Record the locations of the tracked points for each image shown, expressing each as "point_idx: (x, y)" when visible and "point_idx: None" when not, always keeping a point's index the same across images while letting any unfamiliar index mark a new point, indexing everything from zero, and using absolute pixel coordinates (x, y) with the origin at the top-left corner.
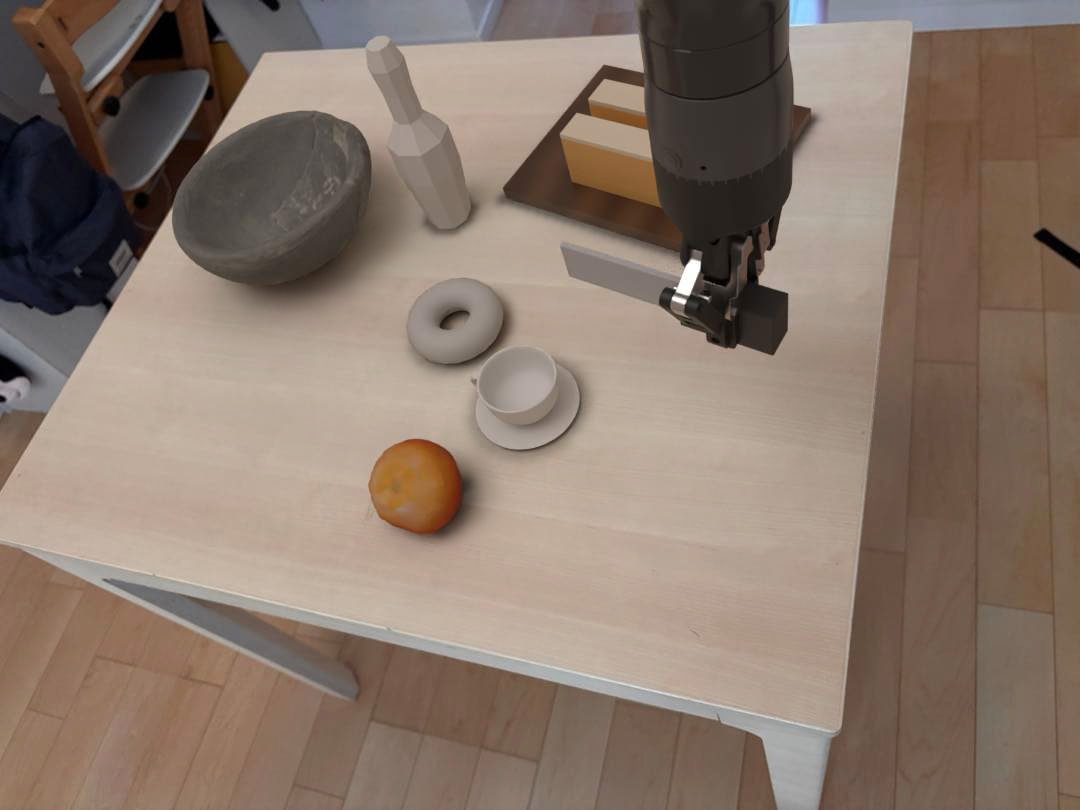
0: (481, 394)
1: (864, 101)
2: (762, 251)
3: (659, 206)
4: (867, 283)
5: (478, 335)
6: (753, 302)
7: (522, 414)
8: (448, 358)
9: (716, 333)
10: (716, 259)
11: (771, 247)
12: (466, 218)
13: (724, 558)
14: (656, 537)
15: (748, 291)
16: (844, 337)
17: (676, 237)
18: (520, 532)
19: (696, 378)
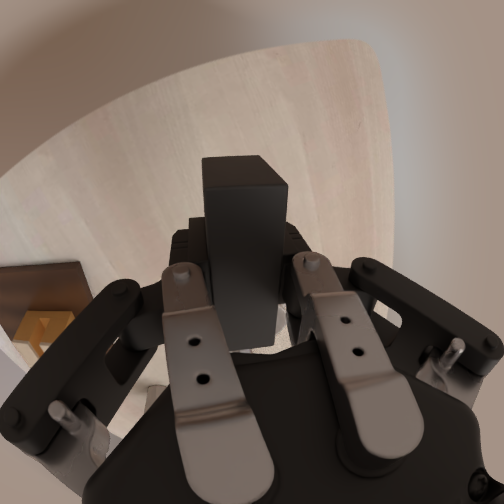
0: (279, 331)
1: None
2: (211, 324)
3: (74, 317)
4: (34, 157)
5: (231, 351)
6: (259, 240)
7: (280, 304)
8: (250, 351)
9: (385, 266)
10: (469, 429)
11: (127, 283)
12: (156, 385)
13: (307, 125)
14: (310, 175)
15: (235, 260)
16: (80, 141)
17: (83, 296)
18: (335, 253)
19: (172, 218)
